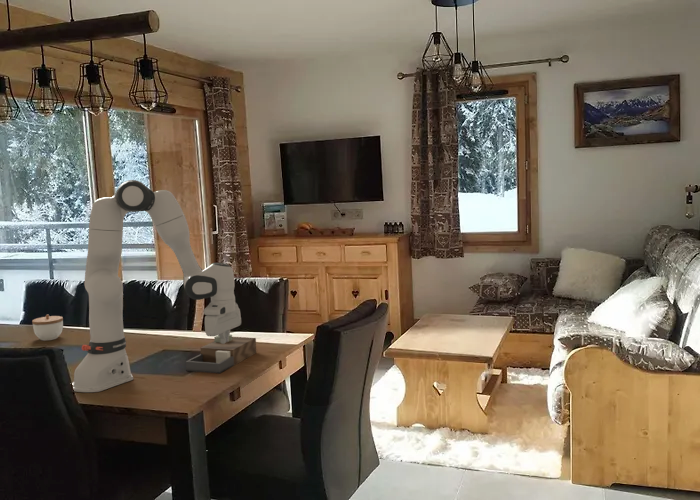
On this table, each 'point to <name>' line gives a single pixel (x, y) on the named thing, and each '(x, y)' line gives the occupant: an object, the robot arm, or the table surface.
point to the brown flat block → (230, 349)
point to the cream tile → (222, 355)
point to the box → (208, 365)
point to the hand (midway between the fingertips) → (224, 342)
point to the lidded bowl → (48, 327)
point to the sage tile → (217, 339)
